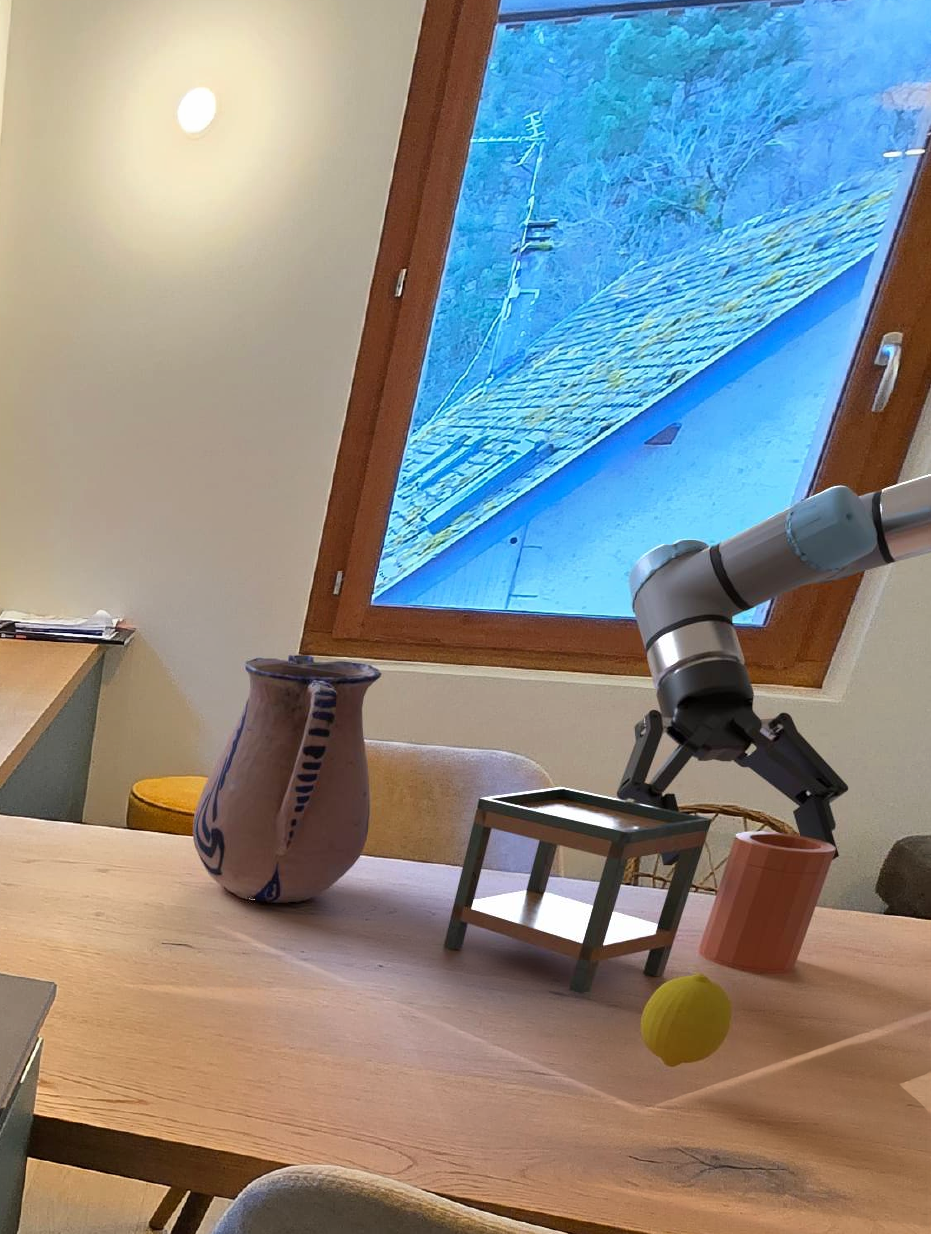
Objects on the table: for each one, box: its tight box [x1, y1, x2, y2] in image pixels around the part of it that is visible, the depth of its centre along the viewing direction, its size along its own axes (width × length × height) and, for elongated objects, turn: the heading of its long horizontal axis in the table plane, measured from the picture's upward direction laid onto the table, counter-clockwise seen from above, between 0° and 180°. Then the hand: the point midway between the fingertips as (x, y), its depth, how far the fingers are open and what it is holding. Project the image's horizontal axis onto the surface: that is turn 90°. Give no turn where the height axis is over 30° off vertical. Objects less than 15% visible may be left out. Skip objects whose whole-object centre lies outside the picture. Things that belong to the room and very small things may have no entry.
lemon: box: [640, 972, 732, 1068], centre depth 103 cm, size 6×6×8 cm
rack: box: [443, 786, 713, 995], centre depth 124 cm, size 14×12×15 cm
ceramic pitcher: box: [192, 654, 382, 904], centre depth 140 cm, size 18×21×25 cm
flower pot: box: [698, 830, 837, 975], centre depth 125 cm, size 7×7×12 cm
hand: (750, 861), depth 127 cm, fingers open, 13 cm apart
